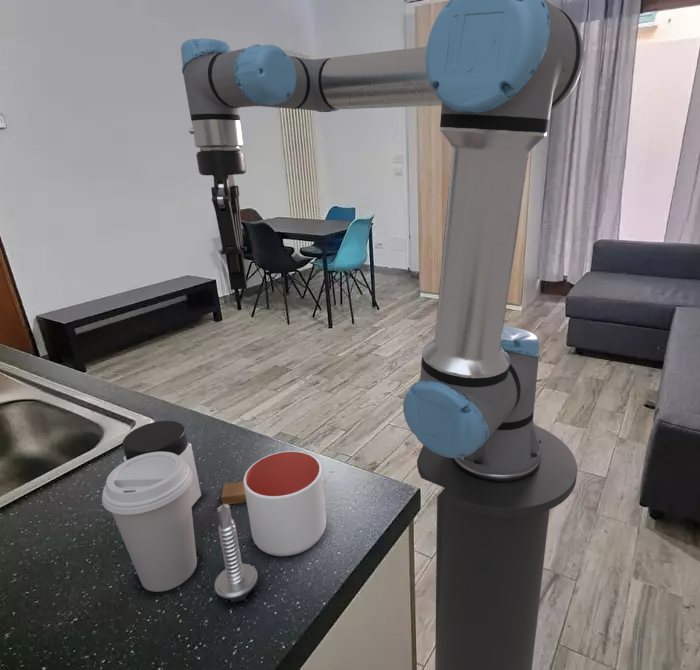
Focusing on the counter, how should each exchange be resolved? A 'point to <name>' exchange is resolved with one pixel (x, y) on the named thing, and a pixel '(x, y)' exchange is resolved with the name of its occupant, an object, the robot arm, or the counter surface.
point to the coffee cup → (154, 517)
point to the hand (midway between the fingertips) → (239, 288)
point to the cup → (285, 502)
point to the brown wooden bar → (233, 493)
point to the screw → (232, 562)
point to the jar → (163, 446)
